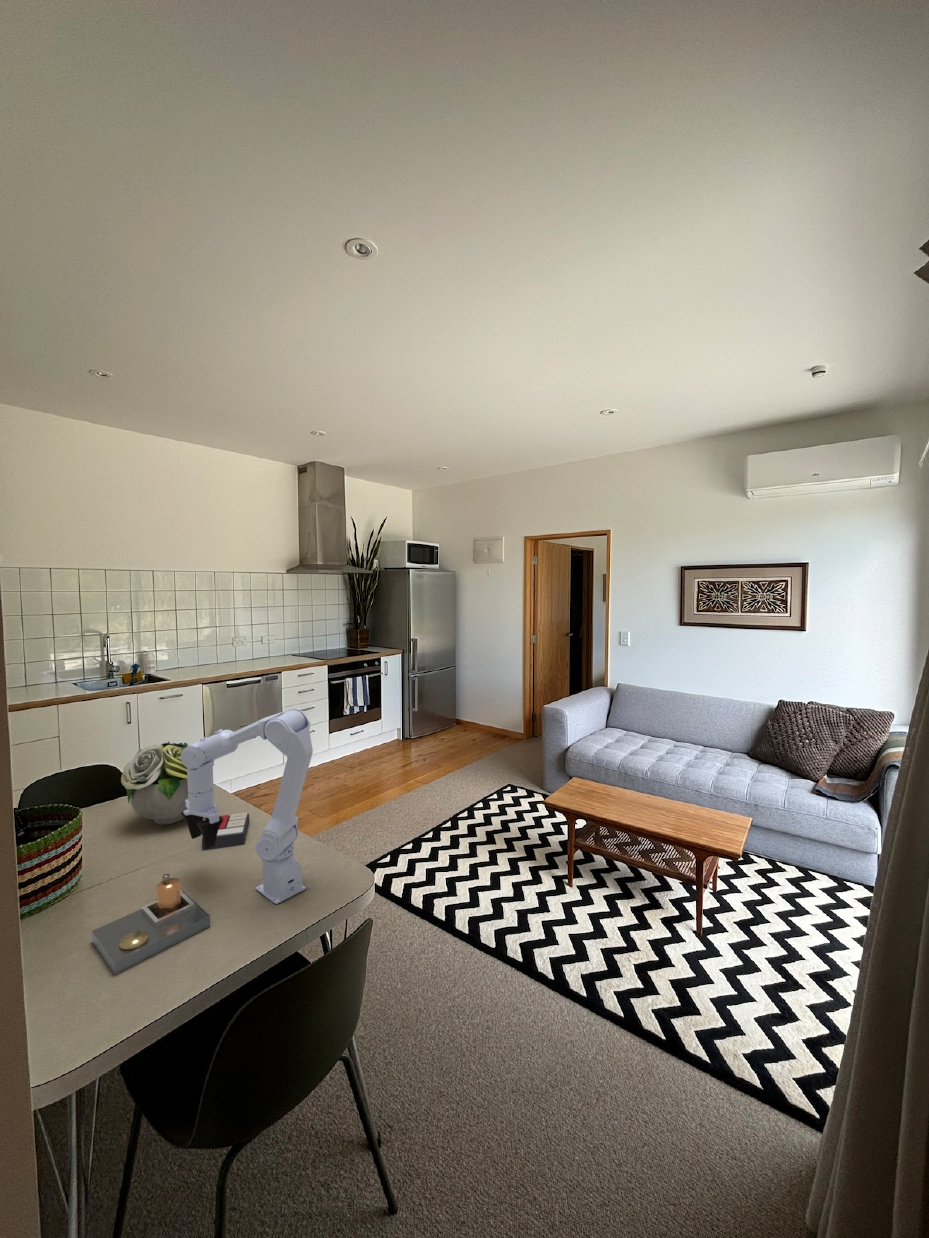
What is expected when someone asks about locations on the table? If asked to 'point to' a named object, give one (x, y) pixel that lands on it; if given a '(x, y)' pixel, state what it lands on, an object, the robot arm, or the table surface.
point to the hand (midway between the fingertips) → (202, 841)
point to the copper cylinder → (168, 895)
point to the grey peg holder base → (147, 933)
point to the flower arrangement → (157, 782)
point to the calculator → (231, 831)
